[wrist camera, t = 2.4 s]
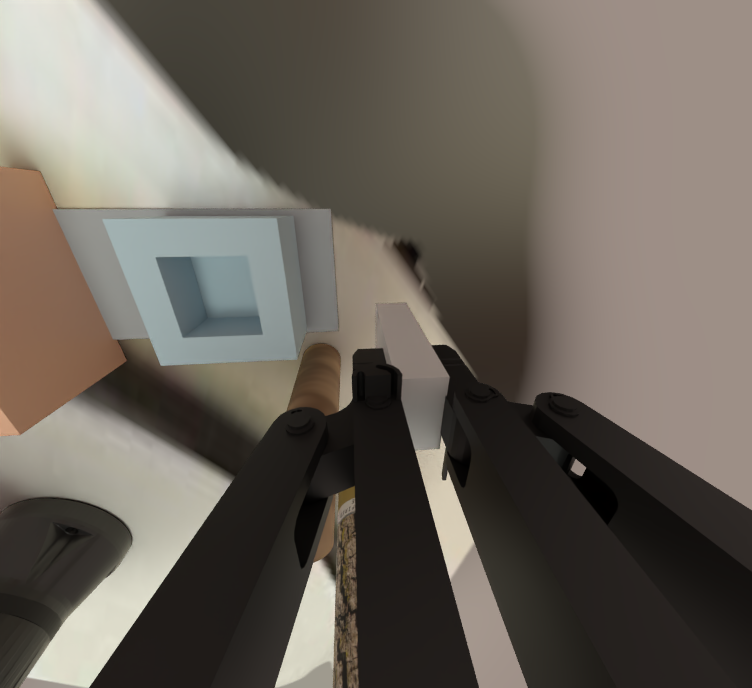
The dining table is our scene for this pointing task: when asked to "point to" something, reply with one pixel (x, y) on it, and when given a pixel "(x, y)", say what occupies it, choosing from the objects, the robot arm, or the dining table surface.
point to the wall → (43, 310)
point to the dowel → (319, 407)
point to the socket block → (214, 286)
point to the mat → (100, 256)
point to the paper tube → (346, 596)
